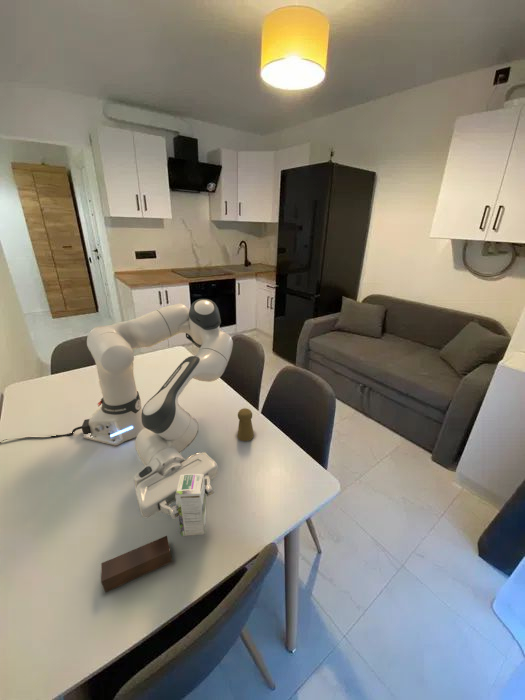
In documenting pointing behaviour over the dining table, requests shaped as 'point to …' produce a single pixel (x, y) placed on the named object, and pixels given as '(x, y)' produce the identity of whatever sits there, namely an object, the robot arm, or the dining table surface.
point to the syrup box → (191, 504)
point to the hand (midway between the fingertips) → (193, 503)
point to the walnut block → (135, 563)
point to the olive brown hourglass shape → (245, 425)
